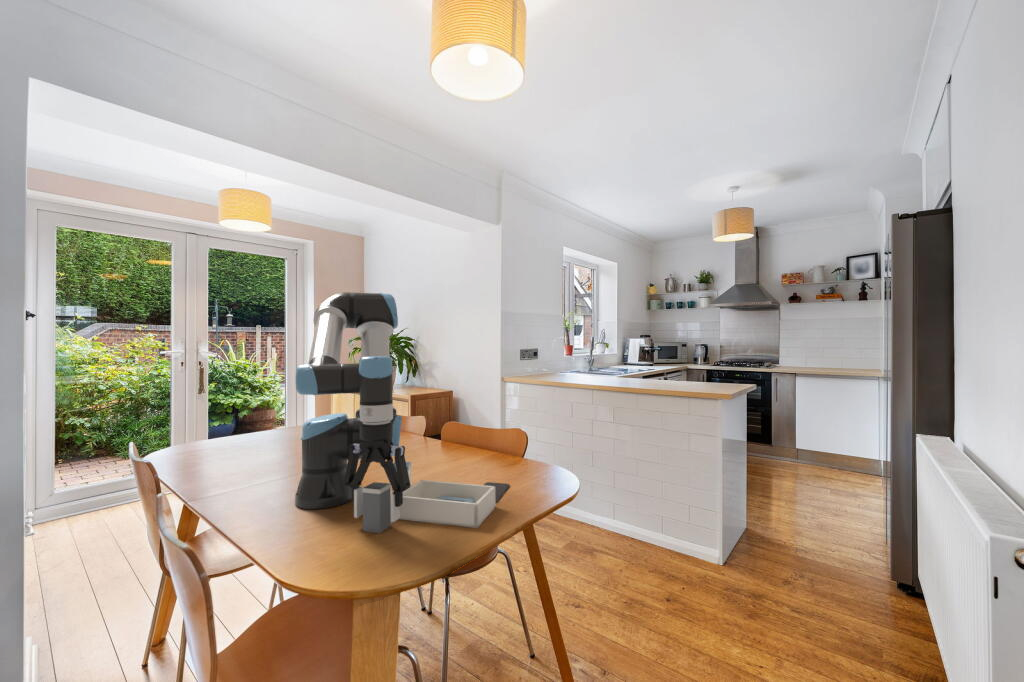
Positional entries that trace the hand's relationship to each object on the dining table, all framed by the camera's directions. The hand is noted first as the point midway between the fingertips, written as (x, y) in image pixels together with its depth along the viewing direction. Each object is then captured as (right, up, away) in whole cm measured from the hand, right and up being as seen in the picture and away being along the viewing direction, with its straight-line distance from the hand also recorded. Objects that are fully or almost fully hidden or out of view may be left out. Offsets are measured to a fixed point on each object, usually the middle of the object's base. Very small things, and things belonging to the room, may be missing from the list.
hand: (376, 517), depth 103 cm
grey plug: (0, -2, 0) cm, 2 cm away
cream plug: (+1, -3, +18) cm, 19 cm away
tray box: (+15, -2, +9) cm, 18 cm away
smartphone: (+26, -3, +24) cm, 35 cm away
